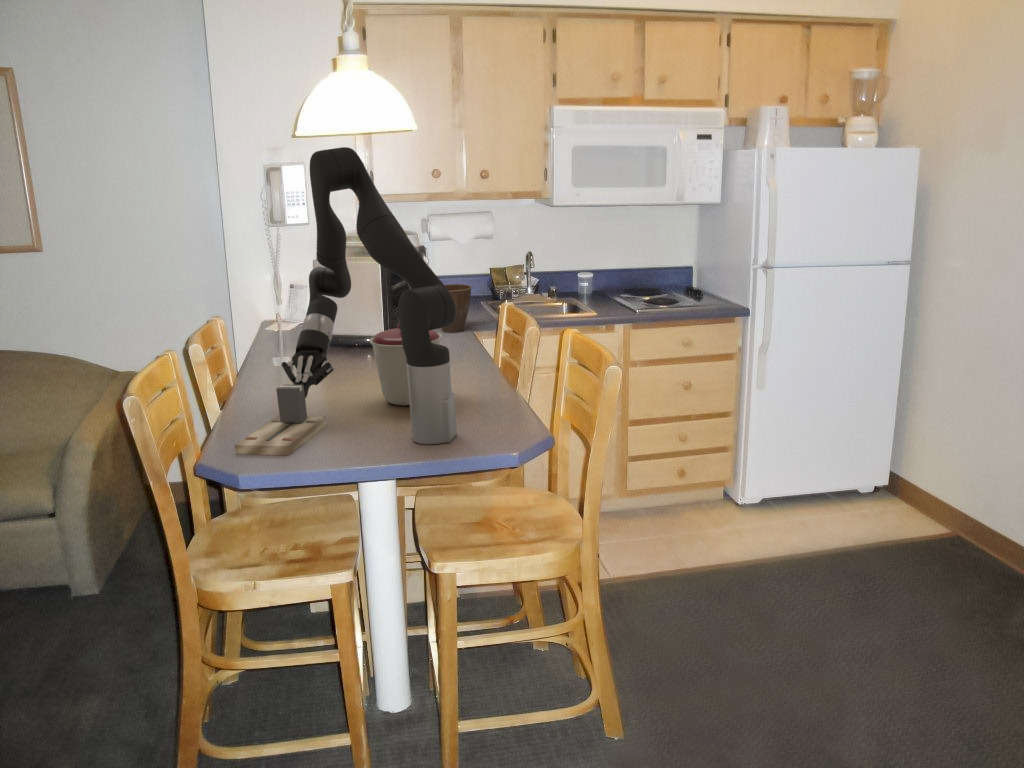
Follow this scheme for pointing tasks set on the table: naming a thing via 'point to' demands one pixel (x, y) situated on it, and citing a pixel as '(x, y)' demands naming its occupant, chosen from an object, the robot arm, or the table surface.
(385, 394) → the canister
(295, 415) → the fader knob
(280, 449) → the fader panel
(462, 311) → the plant pot
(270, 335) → the table surface
